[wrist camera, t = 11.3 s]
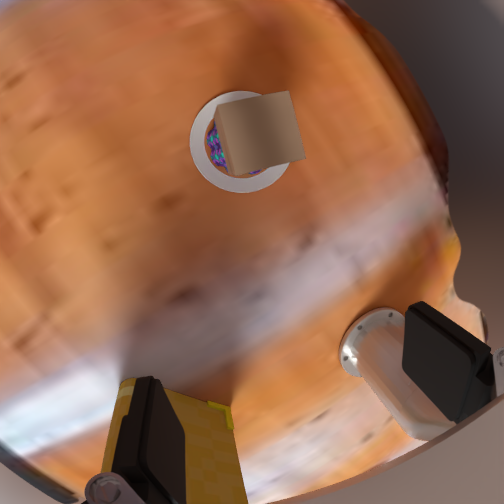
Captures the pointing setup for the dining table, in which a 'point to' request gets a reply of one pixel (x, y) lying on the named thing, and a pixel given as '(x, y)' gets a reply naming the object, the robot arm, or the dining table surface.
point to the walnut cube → (258, 132)
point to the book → (194, 446)
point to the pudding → (217, 154)
